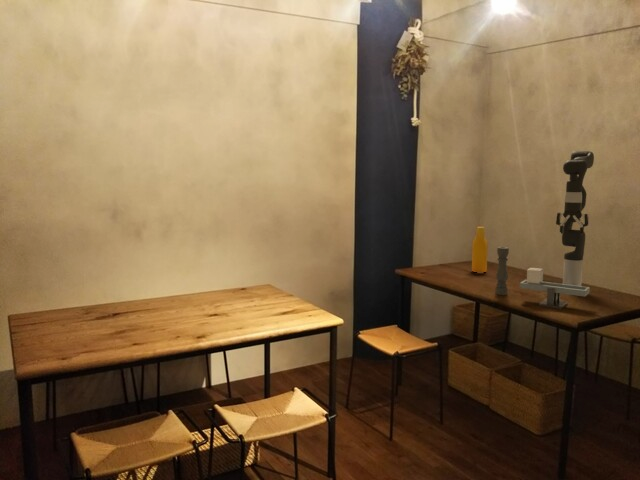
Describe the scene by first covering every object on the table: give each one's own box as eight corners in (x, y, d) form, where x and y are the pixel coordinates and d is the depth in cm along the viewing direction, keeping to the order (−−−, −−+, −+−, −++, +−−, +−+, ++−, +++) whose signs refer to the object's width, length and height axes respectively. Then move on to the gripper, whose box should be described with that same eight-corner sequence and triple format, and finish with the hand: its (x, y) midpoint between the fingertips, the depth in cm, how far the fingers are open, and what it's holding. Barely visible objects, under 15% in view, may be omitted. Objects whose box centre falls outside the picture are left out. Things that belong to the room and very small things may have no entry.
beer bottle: (469, 270, 342) (470, 226, 338) (483, 270, 343) (484, 226, 339) (475, 273, 333) (476, 228, 329) (489, 273, 334) (490, 227, 330)
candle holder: (508, 295, 278) (510, 248, 275) (495, 295, 280) (497, 248, 276) (506, 292, 284) (508, 246, 281) (494, 292, 286) (496, 246, 282)
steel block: (530, 283, 268) (530, 267, 267) (542, 284, 265) (543, 268, 263) (526, 285, 264) (527, 269, 262) (539, 286, 260) (539, 270, 259)
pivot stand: (545, 300, 267) (546, 282, 266) (567, 303, 261) (568, 285, 260) (538, 305, 258) (539, 287, 256) (560, 309, 252) (561, 290, 250)
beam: (525, 284, 271) (525, 279, 271) (589, 292, 253) (589, 287, 252) (519, 288, 264) (519, 282, 264) (585, 296, 246) (585, 290, 245)
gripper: (591, 201, 257) (588, 234, 259) (559, 200, 266) (558, 232, 268) (587, 202, 251) (585, 236, 253) (555, 201, 260) (554, 233, 262)
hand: (571, 234), depth 261 cm, fingers open, 8 cm apart
